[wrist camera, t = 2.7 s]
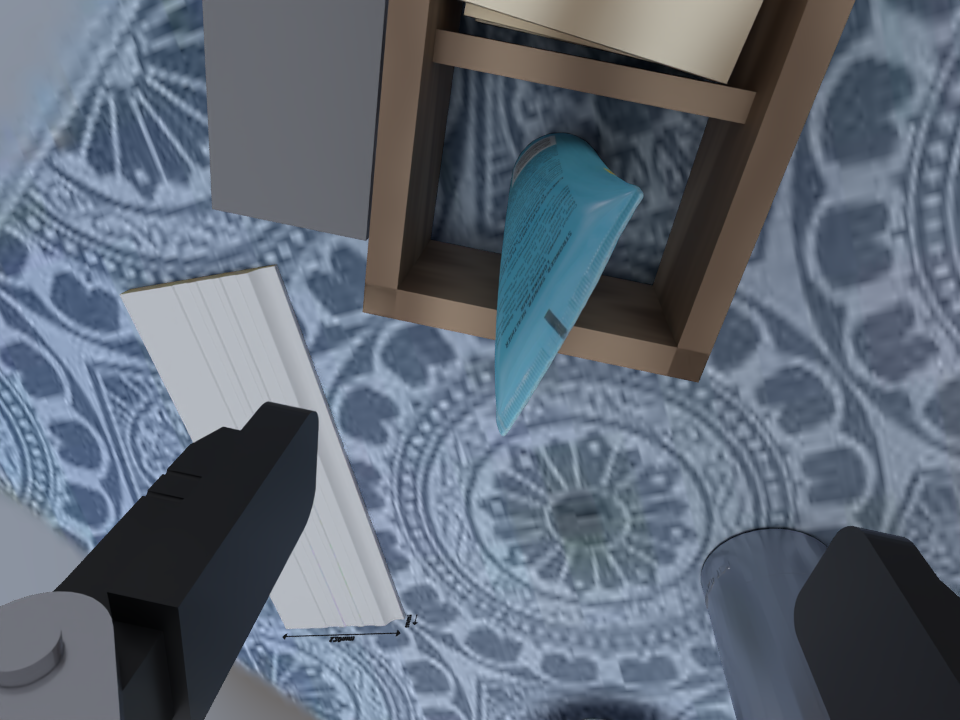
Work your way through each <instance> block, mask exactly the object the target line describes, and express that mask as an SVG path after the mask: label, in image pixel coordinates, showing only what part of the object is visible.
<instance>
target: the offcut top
mask: <svg viewBox="0 0 960 720" xmlns="http://www.w3.org/2000/svg"><path fill="white" fill-rule="evenodd" d="M460 1H463V2H466V3H469V4H472V5H476V6H479V7H482V8H485V9H488V10H491V11H494V12H498V13H501V14H504V15H507V16H510V17H513V18H516V19H520V20H523V21H526V22H529V23H532V24H535V25H538V26H542V27H545V28H548V29H551V30H554V31H557V32H560V33H564V34H567V35H570V36H573V37H576V38H579V39H582V40H586V41H589V42H592V43H595V44H598V45H601V46H605V47H608V48H611V49H614V50H617V51H620V52H623V53H627V54H630V55H633V56H636V57H639V58H642V59H645V60H649V61H652V62H655V63H658V64H661V65H664V66H667V67H671V68H674V69H677V70H680V71H683V72H686V73H689V74H693V75H696V76H699V77H702V78H705V79H708V80H711V81H716V82H720V83H725V84H727V82H728V80H729V77H730V75H731V73H732V71H733V68H734V66H735V64H736V62H737V59H738V57H739V55H740V52H741V50H742V48H743V46H744V43H745V41H746V39H747V36H748V34H749V32H750V30H751V27H752V25H753V23H754V20H755V18H756V16H757V14H758V11H759V9H760V7H761V5H762V2H763V0H460Z"/></svg>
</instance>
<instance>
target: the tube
mask: <svg viewBox="0 0 960 720" xmlns="http://www.w3.org/2000/svg"><path fill="white" fill-rule="evenodd" d="M642 199H643V192H642V190H641V189H640V187H638V186H636V185H633V184H629V183H626V182H625V181H624V180H622V179H620V178H619V177H617V176H616V175H615V174H614V173H613V172H612V171H611V170H610V169H609V168H608V167H607V166H606V165H605V164H604V163H603V162H602V160H601V159H600V158H599V156H598V154H597V153H596V152H595V150H594V149H593V148H592V147H591V146H590V145H589V144H588V143H587V142H586V141H584V140H582V139H581V138H579V137H577V136H574V135H571V134H566V133H554V134H548V135H545V136H543V137H540V138H538V139H536V140H535V141H533V142H532V143H531V144H529V145H528V146H527V147H526V148H525V149H524V150H523V152H522V153H521V154H520V156H519V158H518V159H517V161H516V163H515V166H514V169H513V173H512V178H511V184H510V191H509V198H508V205H507V213H506V221H505V229H504V239H503V247H502V256H501V266H500V276H499V288H498V303H497V317H496V341H495V393H496V422H497V426H498V429H499V432H500V434H501V435H502V436H505V435H506V434H507V432H508V431H509V430H510V428H511V427H512V425H513V423H514V422H515V420H516V419H517V417H518V416H519V414H520V413H521V411H522V410H523V409H524V407H525V406H526V404H527V402H528V401H529V399H530V397H531V396H532V394H533V392H534V391H535V389H536V388H537V386H538V384H539V382H540V381H541V379H542V377H543V376H544V374H545V373H546V371H547V370H548V368H549V366H550V364H551V363H552V361H553V359H554V357H555V356H556V354H557V353H558V351H559V349H560V348H561V346H562V344H563V343H564V341H565V339H566V337H567V336H568V334H569V332H570V331H571V329H572V327H573V326H574V324H575V323H576V321H577V319H578V317H579V315H580V313H581V311H582V310H583V308H584V307H585V305H586V303H587V301H588V299H589V297H590V295H591V294H592V292H593V290H594V288H595V286H596V285H597V283H598V281H599V279H600V277H601V274H602V272H603V270H604V268H605V266H606V264H607V263H608V261H609V259H610V256H611V254H612V252H613V250H614V248H615V246H616V244H617V242H618V239H619V237H620V236H621V234H622V232H623V230H624V229H625V227H626V225H627V224H628V222H629V220H630V219H631V217H632V215H633V213H634V211H635V209H636V208H637V206H638V205H639V203H640V202H641V200H642Z"/></svg>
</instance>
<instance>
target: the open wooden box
mask: <svg viewBox="0 0 960 720" xmlns="http://www.w3.org/2000/svg"><path fill="white" fill-rule="evenodd" d="M854 2H855V0H763V2H762V5H761V7H760V9H759V11H758V14H757V16H756V18H755V20H754V23H753V25H752V27H751V30H750V32H749V34H748V36H747V39H746V41H745V43H744V46H743V48H742V50H741V52H740V55H739V57H738V59H737V62H736V64H735V66H734V68H733V71H732V73H731V75H730V77H729V80H728V82H727V84H725V83H720V84H717V83H712V82H707V81H701V80H696V79H691V78H686V77H681V76H676V75H671V74H666V73H661V72H656V71H651V70H646V69H641V68H636V67H631V66H625V65H620V64H615V63H610V62H605V61H600V60H595V59H590V58H585V57H580V56H575V55H570V54H565V53H560V52H555V51H550V50H544V49H539V48H534V47H529V46H524V45H519V44H514V43H509V42H504V41H499V40H494V39H489V38H484V37H479V36H474V35H469V34H463V33H459V27H460V19H461V12H462V5H463V1H460V0H389V4H388V16H387V28H386V40H385V52H384V64H383V76H382V88H381V99H380V111H379V123H378V135H377V147H376V159H375V171H374V183H373V195H372V207H371V219H370V231H369V243H368V255H367V267H366V279H365V290H364V302H363V312H364V313H369V314H374V315H379V316H383V317H388V318H393V319H398V320H403V321H407V322H412V323H417V324H422V325H426V326H431V327H436V328H441V329H445V330H450V331H455V332H460V333H465V334H469V335H474V336H479V337H484V338H488V339H493V340H496V317H497V303H498V288H499V276H500V266H501V256H502V254H498V253H493V252H488V251H483V250H478V249H473V248H469V247H464V246H459V245H454V244H449V243H444V242H439V241H435V240H431V233H432V226H433V218H434V211H435V203H436V196H437V189H438V181H439V174H440V167H441V159H442V152H443V145H444V137H445V130H446V122H447V115H448V108H449V100H450V93H451V86H452V78H453V71H454V66H455V67H460V68H465V69H470V70H476V71H481V72H486V73H491V74H496V75H501V76H506V77H511V78H516V79H521V80H526V81H531V82H536V83H541V84H546V85H551V86H556V87H561V88H566V89H571V90H576V91H581V92H586V93H591V94H596V95H601V96H606V97H611V98H616V99H621V100H626V101H631V102H636V103H641V104H646V105H652V106H657V107H662V108H667V109H672V110H677V111H682V112H687V113H692V114H697V115H702V116H707V117H709V119H708V122H707V125H706V128H705V131H704V134H703V137H702V140H701V143H700V146H699V149H698V152H697V155H696V158H695V161H694V164H693V167H692V170H691V173H690V176H689V179H688V182H687V185H686V188H685V191H684V194H683V197H682V200H681V203H680V206H679V209H678V212H677V215H676V218H675V220H674V223H673V226H672V229H671V232H670V235H669V238H668V241H667V244H666V247H665V250H664V253H663V256H662V259H661V262H660V265H659V268H658V271H657V274H656V277H655V280H654V283H653V285H648V284H643V283H638V282H634V281H629V280H624V279H619V278H614V277H609V276H604V275H601V277H600V279H599V281H598V283H597V285H596V286H595V288H594V290H593V292H592V294H591V295H590V297H589V299H588V301H587V303H586V305H585V307H584V308H583V310H582V311H581V313H580V315H579V317H578V319H577V321H576V323H575V324H574V326H573V327H572V329H571V331H570V332H569V334H568V336H567V337H566V339H565V341H564V343H563V344H562V346H561V348H560V349H559V351H558V353H560V354H565V355H570V356H574V357H579V358H584V359H589V360H593V361H598V362H603V363H608V364H613V365H617V366H622V367H627V368H632V369H636V370H641V371H646V372H651V373H655V374H660V375H665V376H670V377H675V378H679V379H684V380H689V381H694V382H699V380H700V377H701V375H702V373H703V370H704V368H705V365H706V363H707V360H708V358H709V355H710V353H711V351H712V348H713V346H714V343H715V341H716V338H717V336H718V334H719V331H720V329H721V326H722V324H723V321H724V319H725V316H726V314H727V312H728V309H729V307H730V304H731V302H732V299H733V297H734V295H735V292H736V290H737V287H738V285H739V282H740V280H741V278H742V275H743V273H744V270H745V268H746V265H747V263H748V260H749V258H750V256H751V253H752V251H753V248H754V246H755V243H756V241H757V239H758V236H759V234H760V231H761V229H762V226H763V224H764V221H765V219H766V217H767V214H768V212H769V209H770V207H771V204H772V202H773V200H774V197H775V195H776V192H777V190H778V187H779V185H780V182H781V180H782V178H783V175H784V173H785V170H786V168H787V165H788V163H789V161H790V158H791V156H792V153H793V151H794V148H795V146H796V144H797V141H798V139H799V136H800V134H801V131H802V129H803V126H804V124H805V122H806V119H807V117H808V114H809V112H810V109H811V107H812V105H813V102H814V100H815V97H816V95H817V92H818V90H819V87H820V85H821V83H822V80H823V78H824V75H825V73H826V70H827V68H828V66H829V63H830V61H831V58H832V56H833V53H834V51H835V48H836V46H837V44H838V41H839V39H840V36H841V34H842V31H843V29H844V27H845V24H846V22H847V19H848V17H849V14H850V12H851V9H852V7H853V5H854Z"/></svg>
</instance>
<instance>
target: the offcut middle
mask: <svg viewBox="0 0 960 720" xmlns="http://www.w3.org/2000/svg"><path fill="white" fill-rule="evenodd" d="M464 15H466V16H469V17H472V18H476V19H480V20H484V21H488V22H492V23H496V24H500V25H504V26H508V27H512V28H516V29H520V30H524V31H528V32H532V33H536V34H540V35H544V36H548V37H552V38H556V39H560V40H564V41H568V42H572V43H576V44H580V45H584V46H588V47H592V48H596V49H600V50H604V51H608V52H612V53H616V54H620V55H624V56H628V57H632V58H636V59H640V60H644V61H648V62H652V61H649V60H645V59H642V58H639V57H636V56H633V55H630V54H627V53H623V52H620V51H617V50H614V49H611V48H608V47H605V46H601V45H598V44H595V43H592V42H589V41H586V40H582V39H579V38H576V37H573V36H570V35H567V34H564V33H560V32H557V31H554V30H551V29H548V28H545V27H542V26H538V25H535V24H532V23H529V22H526V21H523V20H520V19H516V18H513V17H510V16H507V15H504V14H501V13H498V12H494V11H491V10H488V9H485V8H482V7H479V6H476V5H472V4H469V3H466V7H465V12H464ZM652 63H655V62H652ZM656 64H658V63H656ZM660 65H661V64H660Z"/></svg>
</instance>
